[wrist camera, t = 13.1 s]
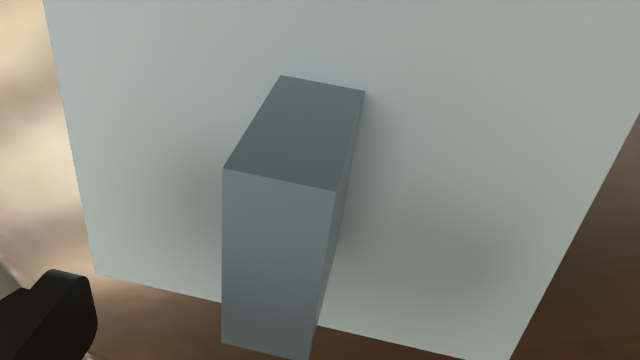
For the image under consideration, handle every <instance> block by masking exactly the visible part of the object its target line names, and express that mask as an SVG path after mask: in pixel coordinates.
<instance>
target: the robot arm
mask: <svg viewBox="0 0 640 360" xmlns="http://www.w3.org/2000/svg"><path fill="white" fill-rule="evenodd" d="M97 325H98V321H97V315H96V311H95V306H94V302H93V297H92V292H91V288H90V283H89V280H88V279H87V278H86V277H85V276H81V275H76V274H72V273H68V272H64V271H60V270H56V269H51V270H49V271H47V272H46V273H44V274H43V275H42V276H41V277H40V279H39V280H38V281H37V282H36V283H35V284H34V285H33V287H32V288H31V289H30V290H29V289H25V288H19V289H17V290H16V291H14V292H13V293H11V294H9V295H8V296H6V297H5V298H3V299H1V300H0V360H82V358H83V357H84V355H85V354H86V352H87V351H88V350H89V348H90V346H91V344H92V342H93V340H94V338H95V335H96V331H97Z"/></svg>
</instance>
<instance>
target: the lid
mask: <svg viewBox="0 0 640 360" xmlns="http://www.w3.org/2000/svg"><path fill="white" fill-rule="evenodd" d="M43 4H44V9H45V14H46V19H47V25H48V30H49V35H50V40H51V45H52V51H53V56H54V61H55V66H56V71H57V77H58V82H59V87H60V92H61V97H62V103H63V108H64V113H65V118H66V123H67V129H68V134H69V139H70V144H71V149H72V155H73V160H74V165H75V170H76V175H77V181H78V186H79V191H80V196H81V202H82V207H83V212H84V217H85V222H86V228H87V233H88V238H89V243H90V248H91V254H92V259H93V264H94V269H95V274H100V275H104V276H108V277H113V278H117V279H121V280H125V281H130V282H134V283H138V284H143V285H147V286H151V287H156V288H160V289H164V290H168V291H173V292H177V293H181V294H186V295H190V296H194V297H199V298H203V299H207V300H211V301H216V302H220V303H221V343H225V344H229V345H234V346H238V347H242V348H246V349H250V350H254V351H259V352H263V353H267V354H271V355H275V356H279V357H284V358H288V359H292V360H309V357H310V353H311V349H312V345H313V341H314V337H315V333H316V329H317V325H319V326H323V327H328V328H332V329H336V330H340V331H345V332H349V333H353V334H358V335H362V336H366V337H371V338H375V339H379V340H383V341H388V342H392V343H396V344H401V345H405V346H409V347H414V348H418V349H422V350H426V351H431V352H435V353H439V354H444V355H448V356H452V357H457V358H461V359H465V360H509V359H510V357H511V355H512V353H513V351H514V349H515V348H516V346H517V344H518V342H519V340H520V338H521V336H522V334H523V332H524V331H525V329H526V327H527V325H528V323H529V321H530V319H531V317H532V315H533V314H534V312H535V310H536V308H537V306H538V304H539V302H540V300H541V298H542V297H543V295H544V293H545V291H546V289H547V287H548V285H549V283H550V281H551V279H552V278H553V276H554V274H555V272H556V270H557V268H558V266H559V264H560V262H561V261H562V259H563V257H564V255H565V253H566V251H567V249H568V247H569V245H570V244H571V242H572V240H573V238H574V236H575V234H576V232H577V230H578V228H579V227H580V225H581V223H582V221H583V219H584V217H585V215H586V213H587V211H588V210H589V208H590V206H591V204H592V202H593V200H594V198H595V196H596V194H597V193H598V191H599V189H600V187H601V185H602V183H603V181H604V179H605V177H606V176H607V174H608V172H609V170H610V168H611V166H612V164H613V162H614V160H615V159H616V157H617V155H618V153H619V151H620V149H621V147H622V145H623V143H624V142H625V140H626V138H627V136H628V134H629V132H630V130H631V128H632V126H633V125H634V123H635V121H636V119H637V117H638V115H639V113H640V0H43Z"/></svg>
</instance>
